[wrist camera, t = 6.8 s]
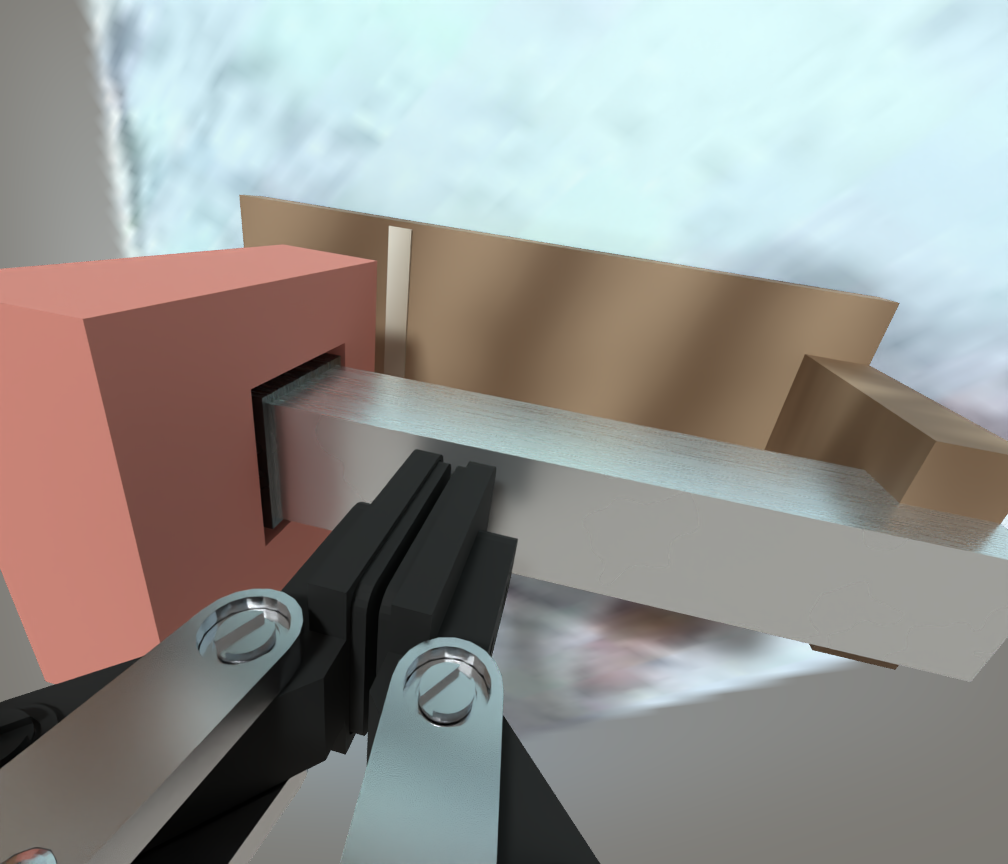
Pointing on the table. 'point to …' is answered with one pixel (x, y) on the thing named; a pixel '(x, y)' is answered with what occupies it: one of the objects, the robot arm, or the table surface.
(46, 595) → the salmon pink rectangular block
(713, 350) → the pipe stand
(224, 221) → the table surface
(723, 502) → the rod
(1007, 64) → the table surface
